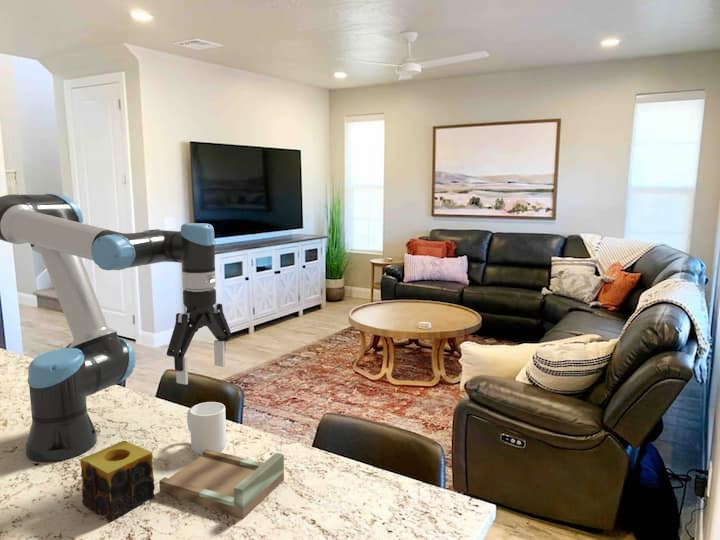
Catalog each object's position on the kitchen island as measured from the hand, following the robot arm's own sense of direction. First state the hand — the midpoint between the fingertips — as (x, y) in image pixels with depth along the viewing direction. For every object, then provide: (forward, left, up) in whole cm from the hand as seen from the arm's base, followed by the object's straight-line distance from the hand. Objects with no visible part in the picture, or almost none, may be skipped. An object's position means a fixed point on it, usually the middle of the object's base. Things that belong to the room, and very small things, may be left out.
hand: (201, 374), depth 127 cm
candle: (0, -26, -19) cm, 32 cm away
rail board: (+16, -13, -19) cm, 28 cm away
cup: (0, 0, -19) cm, 19 cm away
